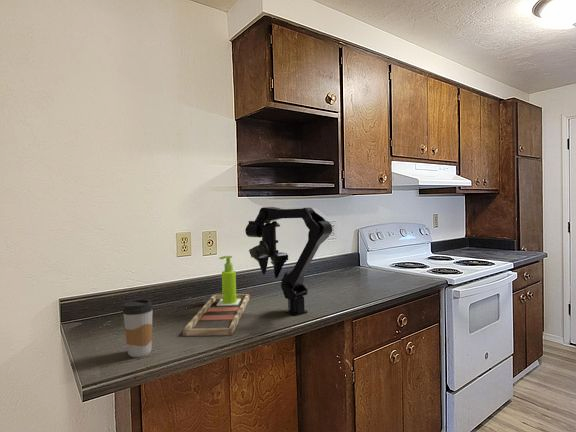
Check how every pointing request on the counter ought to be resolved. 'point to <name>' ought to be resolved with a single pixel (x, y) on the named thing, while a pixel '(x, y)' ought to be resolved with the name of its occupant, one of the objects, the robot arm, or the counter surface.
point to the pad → (228, 304)
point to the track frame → (215, 331)
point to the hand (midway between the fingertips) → (270, 276)
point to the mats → (220, 317)
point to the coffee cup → (138, 326)
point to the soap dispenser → (228, 282)
